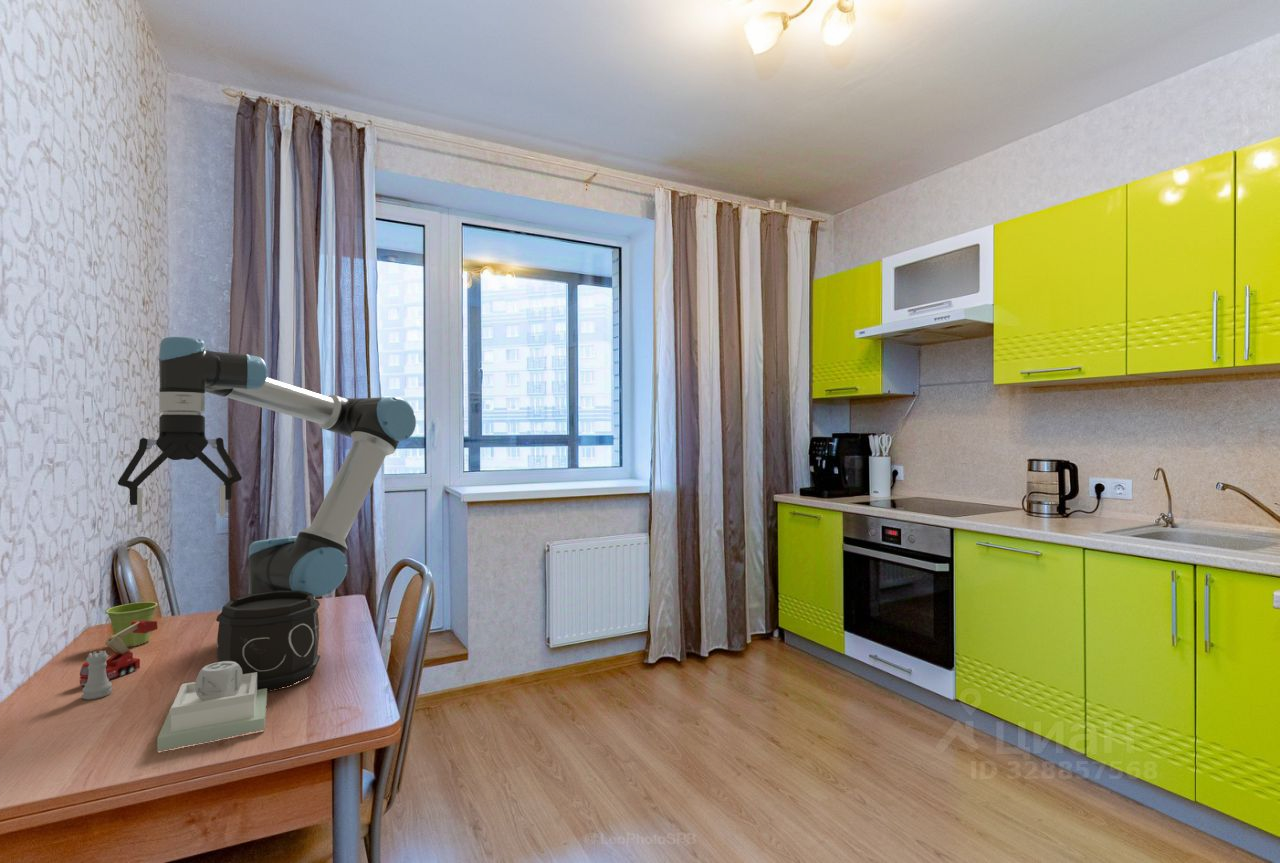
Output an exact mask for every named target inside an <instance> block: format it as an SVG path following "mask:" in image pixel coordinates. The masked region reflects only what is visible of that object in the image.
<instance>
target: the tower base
mask: <svg viewBox="0 0 1280 863" xmlns="http://www.w3.org/2000/svg"><path fill="white" fill-rule="evenodd" d="M195 683H196V681H192V682H186V683H182V684H181V685H180V687H179V690H178V692H177V695H175V699H174V701H173V703H172V704H171V706H170V709H169V712H168V713H167V715H166V718H165V720H164V723H163V724H162V727H161V729H160V732H159V733H158V736H157V739H156V741H157V746H156V747H157V748H156V749H157V751H164V750H169V749H174V748H178V747H182V746H188V745H193V744H199V743H205V742H210V741H215V740H218V739H223V738H228V737H232V736H236V735H242V734H246V733H249V732H256V731H260V730H264V728H266V719H265V717H266V718H267V708H266V706H267V705H268V692H267V688H266V689H260V690H257V672H255V673H248V674H243V677H242V683H241V686H240V689H239V691H238V692H237V693H236V694H235V695H234V696H229V697H223V698H217V699H212V700H206V701H203V700H201V699H200V698H199V697H198V696H197V694H196V691H195ZM264 731H265V730H264Z"/></svg>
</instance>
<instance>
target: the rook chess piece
mask: <svg viewBox="0 0 1280 863" xmlns="http://www.w3.org/2000/svg"><path fill="white" fill-rule="evenodd" d="M108 659H109V654H108V653H107V650H99V651H98V653H97V651H96V650H95V651H93V652H89V653H88V656H87V658H86V659H85V662H88V663H89V666H88V667H87V668H88V669H89V675H88V680H87V683H86V684H85V686H84V687H82V691H81V692H82V693H83V694H82V695H81V698H82V699H83V700H85V699H87V700H86V701H91V699H92V700H98V699H103V698H105V697H107V696H109V695H110V694H111V693H112V692H113V689H112V687H113V684H112V682H111V681H110V679H108V678H107V674H106V665H107V663H106V660H108Z"/></svg>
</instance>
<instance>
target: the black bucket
mask: <svg viewBox="0 0 1280 863" xmlns="http://www.w3.org/2000/svg"><path fill="white" fill-rule="evenodd" d="M320 604H321V603H320V601H319V600H318V599H315V597H314V595H313V594H312V593H308V592H304V591H273V592H266V593H259V594H251V595H249V594H248V595H245V596H240V597H237V598H234V599H233V600H232V599H231V600H229V601H228V602H227V603H225V604H224V605H223V606H222V609H221V612H220V613H219V614H218V615H217V617H216V619H215V620H216V622H218V630H217V636H216V658H217V662H223V661H233V662H236V663H237V664H238V665H239V666H240V667H241V668H242V673H243V674H248V673H255V672H257V690H260V689H266V688H267V691H270V690H274V689H279V688H282V687H287V686H290V685H293V684H294V683H296V682H298V681H301V680H303V679H305V678H307V677H309V676H311V677H312V675H313V673H314V671H315V670H316V669H317V666H318V664H319V661H320V658H321V655H319V654H318V651H319V650H318V648H319V641H320V640H319V639H320V621H319V613H318V609H319V607H320ZM311 674H312V675H311ZM279 690H280V689H279ZM270 692H271V691H270Z"/></svg>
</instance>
